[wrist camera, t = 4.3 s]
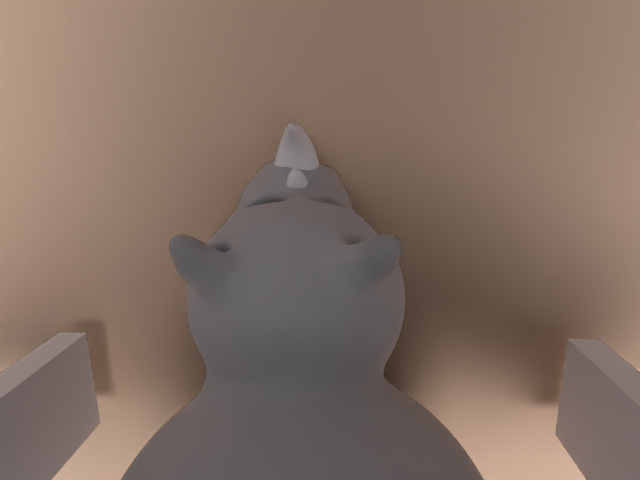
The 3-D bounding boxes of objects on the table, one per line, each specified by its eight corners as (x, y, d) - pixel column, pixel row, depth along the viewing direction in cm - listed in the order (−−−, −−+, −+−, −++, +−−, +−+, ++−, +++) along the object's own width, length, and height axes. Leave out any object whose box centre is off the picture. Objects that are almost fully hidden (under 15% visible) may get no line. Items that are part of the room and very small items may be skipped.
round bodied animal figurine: (433, 188, 14) (580, 2, 5) (448, 615, 12) (706, 1357, 4) (206, 190, 14) (7, 18, 6) (188, 606, 12) (-143, 1260, 4)
